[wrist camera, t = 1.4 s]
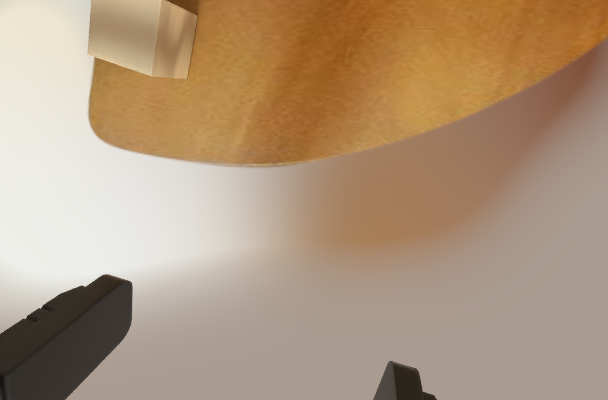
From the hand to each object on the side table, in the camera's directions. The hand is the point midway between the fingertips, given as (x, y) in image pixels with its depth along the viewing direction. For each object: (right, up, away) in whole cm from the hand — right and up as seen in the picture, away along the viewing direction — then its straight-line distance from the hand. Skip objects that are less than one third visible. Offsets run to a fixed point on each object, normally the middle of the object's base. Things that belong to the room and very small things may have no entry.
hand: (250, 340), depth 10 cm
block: (-10, +17, +17) cm, 26 cm away
